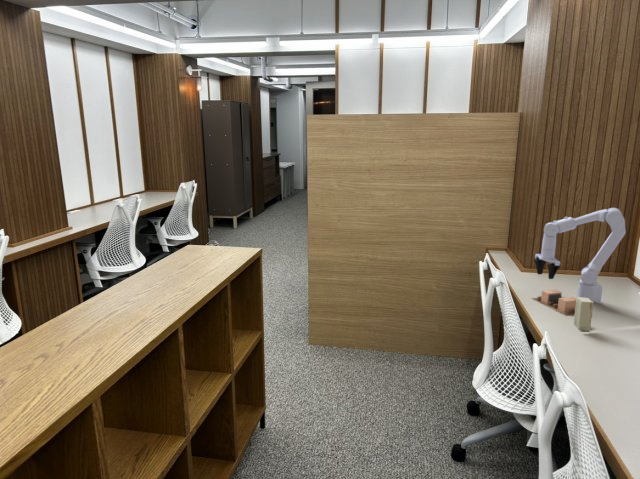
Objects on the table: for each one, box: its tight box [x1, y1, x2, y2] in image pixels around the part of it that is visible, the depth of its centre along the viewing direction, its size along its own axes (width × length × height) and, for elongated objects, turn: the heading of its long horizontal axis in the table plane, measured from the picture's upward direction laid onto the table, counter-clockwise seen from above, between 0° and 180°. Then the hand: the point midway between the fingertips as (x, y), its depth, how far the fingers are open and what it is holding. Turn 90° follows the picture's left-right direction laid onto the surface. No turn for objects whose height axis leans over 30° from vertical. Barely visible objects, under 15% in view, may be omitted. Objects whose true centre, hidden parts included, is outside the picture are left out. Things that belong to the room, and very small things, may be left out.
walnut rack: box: [531, 295, 575, 317], centre depth 207 cm, size 13×22×2 cm, turn 14°
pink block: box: [558, 296, 577, 312], centre depth 202 cm, size 7×5×5 cm, turn 104°
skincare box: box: [573, 296, 594, 333], centre depth 183 cm, size 6×4×12 cm
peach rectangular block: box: [541, 289, 563, 304], centre depth 211 cm, size 5×7×5 cm, turn 105°
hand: (545, 276), depth 222 cm, fingers open, 7 cm apart
